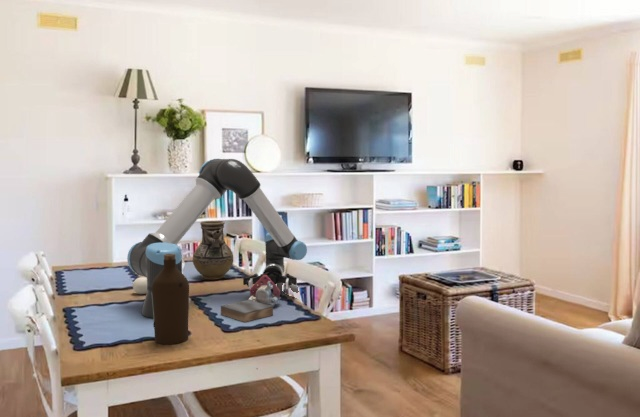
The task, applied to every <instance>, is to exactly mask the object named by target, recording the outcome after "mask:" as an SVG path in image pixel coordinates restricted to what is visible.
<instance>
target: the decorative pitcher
mask: <svg viewBox="0 0 640 417" xmlns="http://www.w3.org/2000/svg"><path fill="white" fill-rule="evenodd" d="M199 224H200V229H201V234H202V235H201V236H202V237H201V242H200V244H199V245H198V246H197V247H196V248H195V250H194V253H193V255H192V263H193V266H194V268H195V269H196V271H197V272H198V273H199V274H200V275H201V278H202V279H203V280H210V281H211V280H212V281H213V280H221V279H223V278H224V277H225V275H226V274H227V273H228V272H229V271H230V270H231V268H232V267H233V264H234V254H233V251H232V249H231V248H230V247H229V245H228V244H227V243H226V242H225V239H224V238H225V237H224V236H225V235H224V228H225V224H226V223H225V221H223V220H204V221H201V222H199Z"/></svg>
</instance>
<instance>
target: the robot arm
mask: <svg viewBox="0 0 640 417" xmlns="http://www.w3.org/2000/svg"><path fill="white" fill-rule="evenodd" d="M198 173H199V174H198V176H197V177H196V178H195V186H194V187H193V188H192V189H191V191H189V193H188V194H187V195H186V196H185V198H183V199H182V201H181V203H179V205H178V206H177V207H176V208H175V209H174V210H173V211H172V213H171V214H170V215H169V216H168V217H167V218H166V220H165V221H164V222H163V223H162V225H160V227H159V228H158V229H157V230H156V231H155V232H150V233H148V234H147V235H146V237H145V238H144V239H143V240H142V241H140V242H137V243H135V244H133V245H132V246H131V247H130V249H129V250H128V253H127V257H126V259H127V265H128V267H129V268H130V270H131V271H133V273H135V274H137V275H139V276H141V277H146V278H147V293H146V295H145V298H144V301H143V305H142V307H141V308H142V311H141V312H142V313H141V314H142V315H143V316H144V317H145V318H152V319H154V318H153V305H152V294H151V287H152V283H153V280H154V279H155V277H156V276H157V275H158V274H159V273H160V272H161V271H162V270H163V268H164V255H165V254H175V259H176V268H177V269H178V270H179V271H180V272H181V273H182V274H183V254H182V248H181V247H180V246H179V245H178V244H179V243H180V241H181V240H182V238H183V237H184V236H185V235H186V233H188V231H189V230H190V229H191V228H192V227H193V226H194V224H195V223H196V222H197V221H198V219H199V218H200V217H201V216H202V215H203V213H204V212H205V211H206V209H208V208H209V206H210V205H211V203H212V202H213V201H214V200H220V199H221V198H222V197H223V196H224V194H225V193H226V191H231V192H233V193H234V194H235V195H236V196H237V197H238V199H240V200H243V201H244V203H246V205H247V206H248V208H249V209H250V210H251V212H253V214H254V215H255V217H256V218H257V220H259V223H261V225H262V226H263V227H264V229H265V230H266V231H267V233H266V234H265V243H264V244H265V245H264V246H265V268H264V270H263V273H262V274H261V273H260V275H259V274H258V273H254V274H252V275H248V276H246V277H243V279H242V281H243V283H242V284H243V286H247V287H248V290H250V289H251V288H252V286H253V285H254V284H255V283H256V282H257V281H258V280H259V279H260V278H261V277H262V276H263V275H267V276H268V277H269V278H270V280H272V282H273V283H274V284H275V285H276V286H277V285H278V284H284V285H285V290H288V289H289V287H291V286H292V285H294V286H297V285H298V284H297V283H298V281H297V280H298V279H297V277H295V276H294V275H293V276H292V275H291V274H290V273H285V274H284V272H285V265H284V264H285V260H284V258H286V259H289V260H292V261H301V260H303V259H304V258H305V257H306V255H307V253H308V248H307V244H306V243H305V242H303V241H300V240H298V239H297V238H296V236H295V235H294V234H293V232H292V231H291V230H290V228H289V227H288V225H287V224H286V222H285V221H284V219H283V218H282V217H281V215H280V214H279V212H278V211H277V210H276V208H275V207H274V205H273V204H272V203H271V201H270V200H269V199H268V197H267V195H266V194H265V193H264V192H263V190H262V189H261V183H260V181H259V180H258V179H257V176H256V175H255V174H254V172H252V171H251V170H250V168H248V166H247V165H246V164H244V163H243V162H242V161H240V160H238V159H234V158H213V159H210V160H207V161H205V162H204V163H203V164H202V165H201V167H200V169H199V171H198ZM283 274H284V275H283ZM265 279H266V278H265ZM260 283H263V282H262V281H261V282H260Z"/></svg>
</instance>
